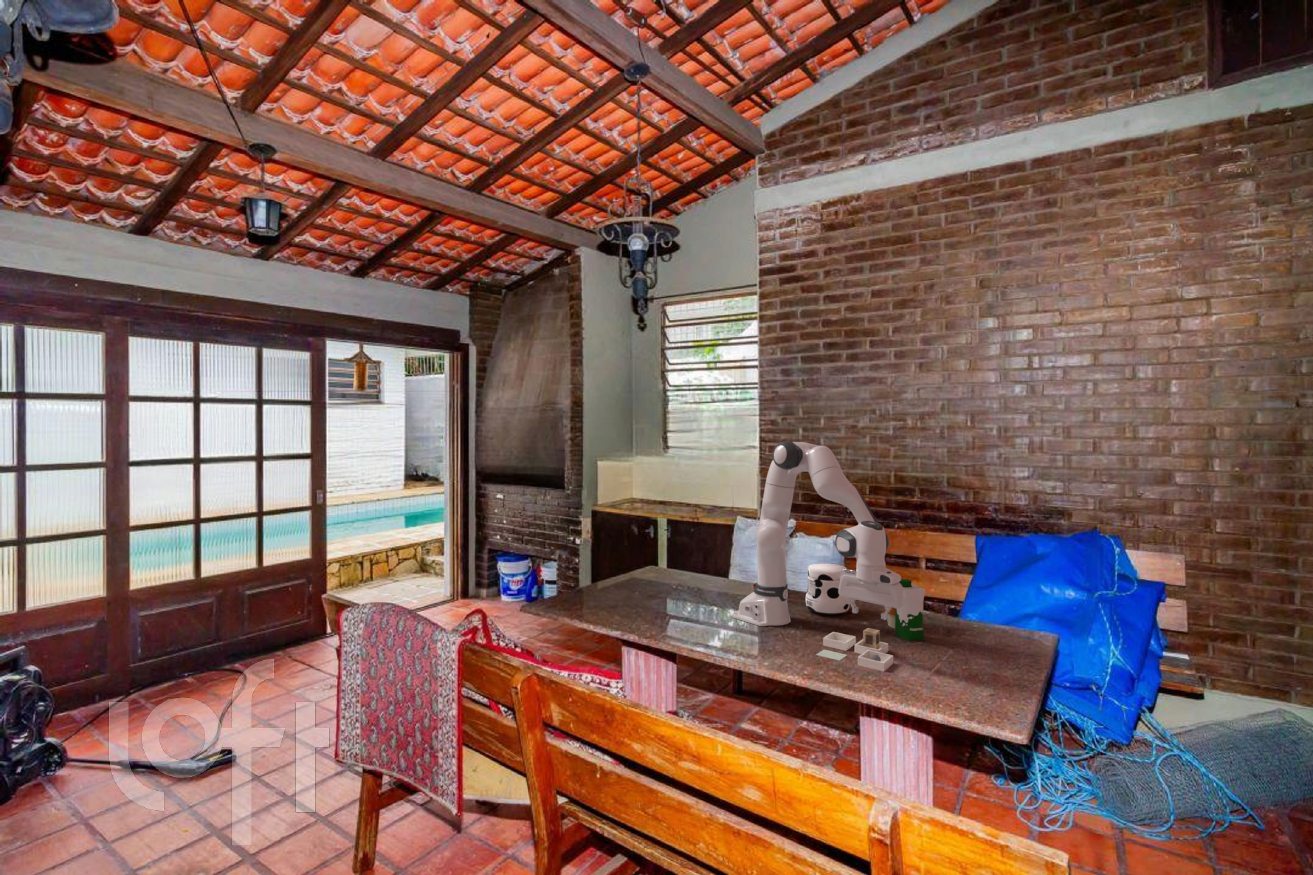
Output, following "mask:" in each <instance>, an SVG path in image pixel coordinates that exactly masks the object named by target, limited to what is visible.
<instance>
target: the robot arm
mask: <svg viewBox="0 0 1313 875" xmlns="http://www.w3.org/2000/svg"><path fill="white" fill-rule="evenodd" d="M802 472H803V474H804V475H805V474H809V477H810V480H811V483H812V485H813V486H812V487H813V488H814V490H815V491H816V493H817V494H818V495H819V496H820V497H821V498H823V499H825V500H828V501H832V502H834V503H837V504H840V505H842V506H844V507H846V508H847V509H849V511H851V513H852V515H853V516H854V518H855V520H856V522H857V525H855V526H852V527H847V528H843V529H840V530H839V531H838V532H837V534H836V536H835V542H834V543H835V548H836V550H837V553H839V555H841V556H842V557H844V558H855V559H856V565H855V568H856V570H855V569H849V568H847V569H843V570H841V571H840V584H839V595H840V596H841V597H845V598H849V603H850V606H851V609H852V610H851V612H852V614H858V613H859V612H860V611H859V609H860V608H859V606H857V605H856V601H858V602H859V601H860V602H865V603H871V604H874V605H880V606H885V607H884V612H882V613H880V619H881V620H884V621H886V620H887V618H888V613H889V612H890V610H891V609H892V607H893V608H899V607H901V606H902V605H903V603H904V595H903V588H902V585H901V584H900V583H899V581H901V579H902V576H901V574H899V573H897V572H895V571H893V570H892V569H889V568H887V567H886V565H887V564H886V560H885V556H886V553H887V551H888V550H889V546H890V538H889V536H888V533H887V532H886V531H885V527H884V526H883V525H882V523H879V522H878V520H877V518H876V516H875V515H874V513H873V511H872V510H871V508H870V506H869V505H868V503H867V501H866V500H865V498H864V496H863V494H862V493H861V492H860V490H859V489H858V488H857V487H856V486H854V485H853V484H852V483H851V482H850V481H849V479H848V478H847V477H846V476H845V474H844V472H843V470H842V468H841V465H840V463H839V461H838V459H837V457H836V456H835V454H834V453H833V451H832V450H831V448H829V447H828V446H826V445H818V444H816V443H810V442H804V441H790V440H784V441H781V442H778V443H777V444H776V445H775V447H774V448H773V453H772V461H771V463H770V466H769V468H768V471H767V475H766V480H765V486H764V491H763V496H762V497H763V498H762V503H761V510H760V517H759V523H758V528H757V531H756V533H755V534H756V536H755V540H756V558H757V560H756V562H757V563H756V564H757V574H756V575H757V582H755V583H754V584H752V585H751V589H753V591H752V592H751V593H750V594H748V595H747V596H745V597H744V598H742V599H741V600H740V602H739V607H738V610H737V611H735V612H734V613H732V618H734V619H736V620H740V621H743V622H746V623H749V624H752V625H755V626H759V627H766V626H768V627H769V626H784V625H788V624H789V623H791V622H792V620H791V617H790V616H791V615H790V612H789V607H788V605H789V604H788V593H789V592H788V589H789V588H788V584H787V533H788V532H787V531H788V525H789V522H790V516H791V509H792V504H793V499H794V498H793V497H794V493H795V492H794V491H795V488H796V487H795V486H796V479H797V477H798V475H799V474H801V473H802ZM885 609H886V611H885Z"/></svg>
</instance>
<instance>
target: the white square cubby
mask: <svg viewBox="0 0 1313 875" xmlns="http://www.w3.org/2000/svg"><path fill="white" fill-rule="evenodd" d="M866 650H871V651H875V652H880V653H884V654H888V652H889V643H887V642H883V641H880V648H879V649H874V648H869V647H865V646H863V638H862V639H861V640H859V641H858V642H856V644H855V645H854V653H855V654H859V655H861V654H862V653H864V652H865V651H866Z"/></svg>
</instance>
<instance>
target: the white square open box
mask: <svg viewBox="0 0 1313 875" xmlns="http://www.w3.org/2000/svg"><path fill="white" fill-rule="evenodd" d="M874 654H876V655H878V656H879V657H880V659H881V661H875V660H871V659H870V658H871V656H872V655H874ZM893 664H894V655H892V654H888V653H885V654H884V653H880V652H875V651H871V650H866V651H865V652H864V653H862V654H859V655H858V656H857V666H860V667H864V668H866V669H872V670H876V671H880V672H885V671H887V670H888V669H889V668H890V667H891V666H893Z"/></svg>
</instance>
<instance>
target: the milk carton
mask: <svg viewBox="0 0 1313 875" xmlns="http://www.w3.org/2000/svg"><path fill="white" fill-rule="evenodd" d="M899 583H900V584H901V585H902V588H903V595H904V603H903V605H902V606H901V607H899V608H895V628H894V636H895V637H896V638H899V639H903V640H906V642H911V641H915V642H918V641H919V642H920V641H925V630H924V629H925V628H924V598H925V595H926V589H925V588H923V587H920V586H918V585H916V584H913V583H912V580H911V579H907V578H901V581H899ZM912 584H913V585H912ZM915 585H916V586H915Z"/></svg>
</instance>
